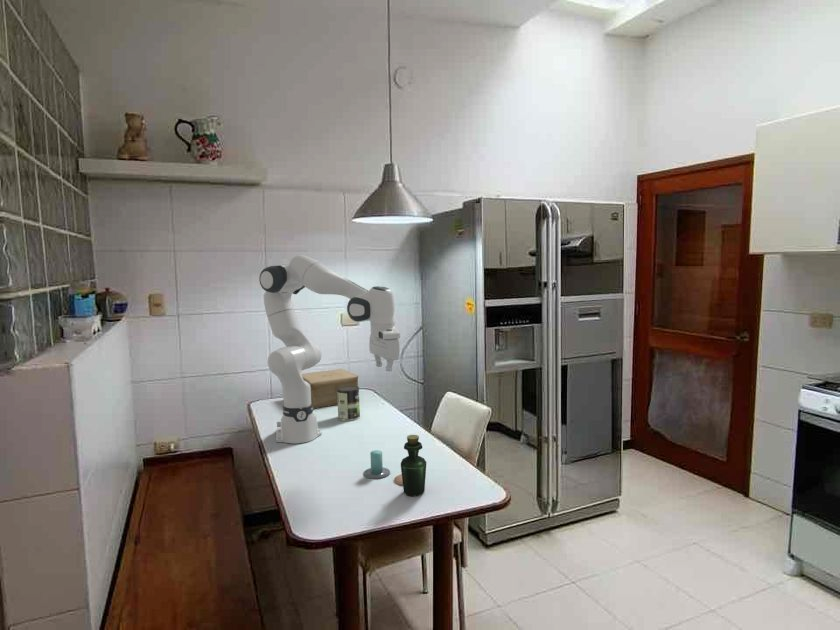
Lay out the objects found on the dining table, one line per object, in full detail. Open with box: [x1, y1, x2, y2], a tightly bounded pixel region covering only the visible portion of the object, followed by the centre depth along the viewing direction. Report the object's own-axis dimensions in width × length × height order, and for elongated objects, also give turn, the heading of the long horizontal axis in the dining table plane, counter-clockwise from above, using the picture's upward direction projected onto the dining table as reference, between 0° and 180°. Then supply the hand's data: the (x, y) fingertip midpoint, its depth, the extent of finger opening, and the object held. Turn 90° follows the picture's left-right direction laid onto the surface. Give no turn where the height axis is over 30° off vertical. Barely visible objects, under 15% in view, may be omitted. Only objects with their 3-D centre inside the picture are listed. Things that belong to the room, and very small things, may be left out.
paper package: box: [301, 368, 359, 409], centre depth 272 cm, size 27×26×14 cm
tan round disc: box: [393, 473, 403, 487], centre depth 172 cm, size 9×9×1 cm
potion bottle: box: [400, 434, 427, 497], centre depth 162 cm, size 8×8×18 cm
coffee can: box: [337, 385, 361, 422], centre depth 240 cm, size 10×10×14 cm
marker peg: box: [370, 449, 383, 475], centre depth 177 cm, size 4×4×7 cm
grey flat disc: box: [363, 467, 391, 480], centre depth 178 cm, size 9×9×1 cm
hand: (383, 368), depth 190 cm, fingers open, 8 cm apart
